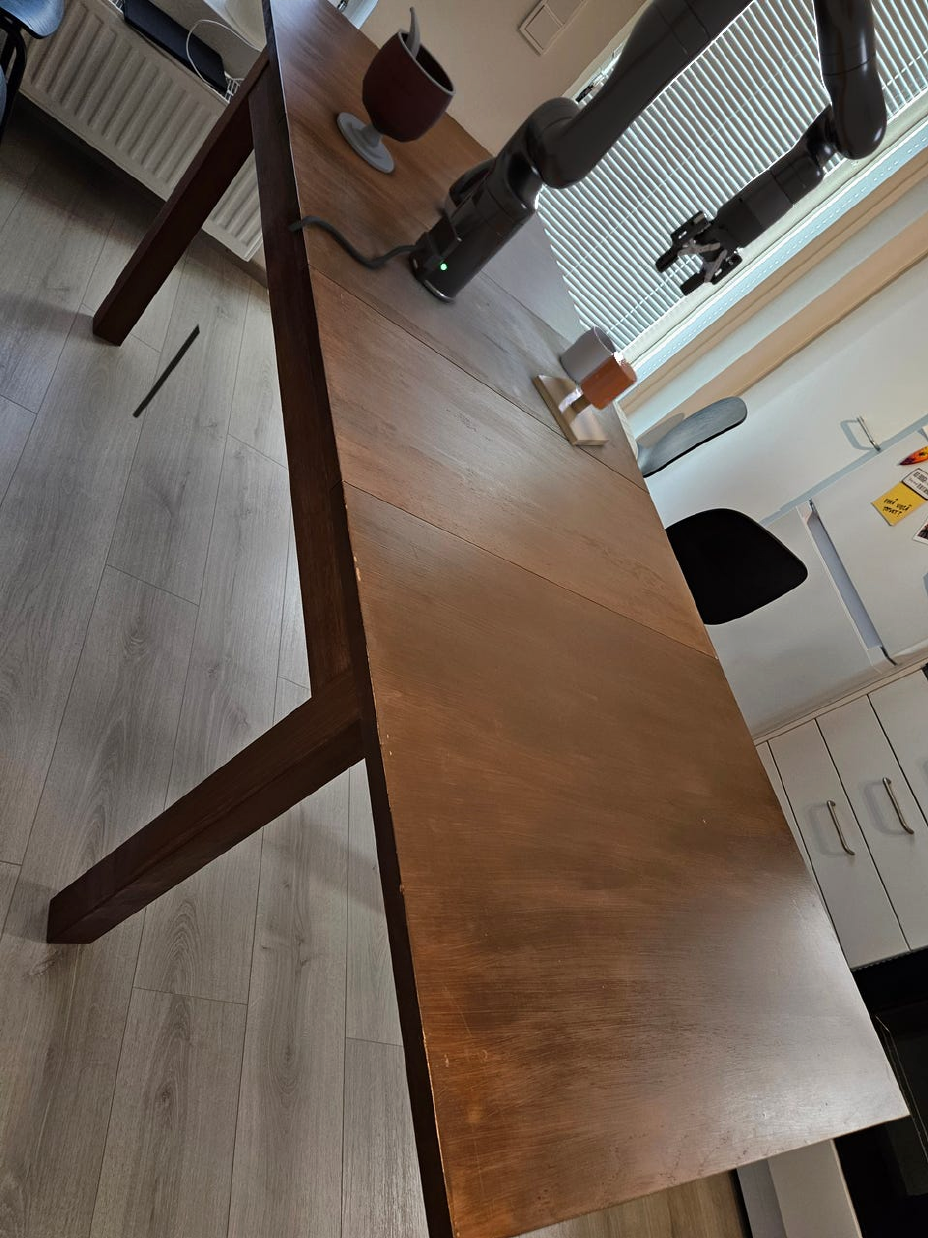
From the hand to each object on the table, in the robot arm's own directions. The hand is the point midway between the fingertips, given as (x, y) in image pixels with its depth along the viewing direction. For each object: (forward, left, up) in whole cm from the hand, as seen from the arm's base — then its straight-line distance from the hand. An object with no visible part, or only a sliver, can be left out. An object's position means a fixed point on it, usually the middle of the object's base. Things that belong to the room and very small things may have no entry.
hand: (669, 280), depth 136 cm
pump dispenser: (-13, +36, -27) cm, 47 cm away
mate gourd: (-35, +42, -27) cm, 61 cm away
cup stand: (+1, -7, -27) cm, 28 cm away
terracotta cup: (+2, -7, -22) cm, 23 cm away
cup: (+11, +10, -27) cm, 31 cm away
